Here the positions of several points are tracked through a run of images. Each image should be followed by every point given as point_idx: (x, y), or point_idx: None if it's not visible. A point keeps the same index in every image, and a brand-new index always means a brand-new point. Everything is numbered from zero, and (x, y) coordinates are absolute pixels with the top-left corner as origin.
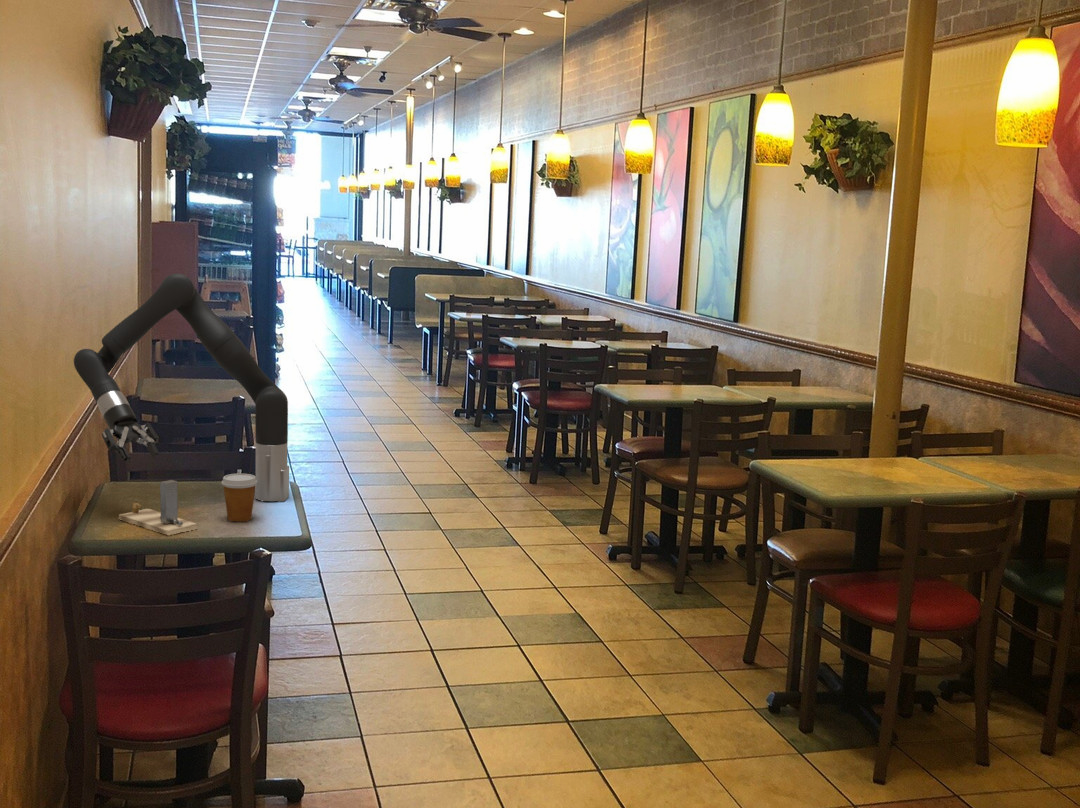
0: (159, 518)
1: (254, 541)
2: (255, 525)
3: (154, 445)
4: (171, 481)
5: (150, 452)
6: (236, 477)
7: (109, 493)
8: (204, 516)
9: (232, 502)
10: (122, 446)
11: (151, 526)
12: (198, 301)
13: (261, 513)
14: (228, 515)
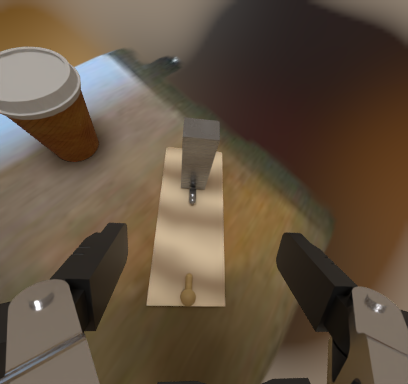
0: (185, 216)
1: (160, 75)
2: (96, 109)
3: (61, 273)
4: (194, 126)
5: (114, 279)
6: (20, 83)
7: None
8: (96, 198)
9: (88, 113)
10: (357, 290)
11: (222, 193)
12: None
13: (22, 141)
14: (94, 144)
